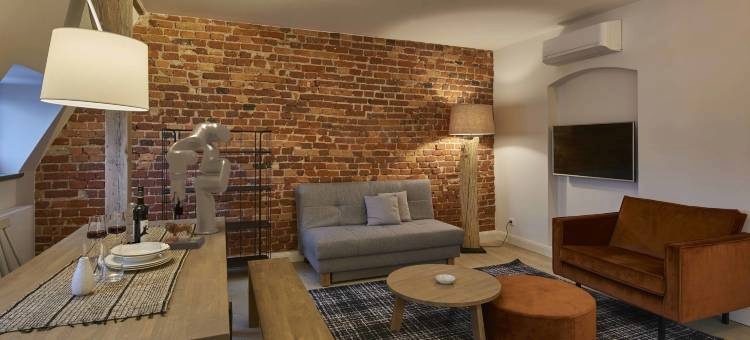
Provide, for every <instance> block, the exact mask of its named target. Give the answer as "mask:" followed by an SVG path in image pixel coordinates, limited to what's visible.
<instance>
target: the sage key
mask: <svg viewBox="0 0 750 340" xmlns="http://www.w3.org/2000/svg"><path fill="white" fill-rule="evenodd" d="M201 237H202V236H193V237H192V238H191V239H190V241H195V240H200V239H201Z"/></svg>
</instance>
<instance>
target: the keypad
mask: <svg viewBox="0 0 750 340" xmlns="http://www.w3.org/2000/svg"><path fill="white" fill-rule="evenodd" d="M200 237H201V239H200V240H195V241H190V239H191V238H192V237H190V239H189V240H188V241H179V240H177V241H167V239H166V240H165V241H163V242H162V243H165V244H168V245H169V246H170V250H169V251H176V250H178V251H179V250H199V249H200V248H201V247H203V245H204V244H205V243H206V238H205V236H200Z"/></svg>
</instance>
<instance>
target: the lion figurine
mask: <svg viewBox="0 0 750 340" xmlns="http://www.w3.org/2000/svg"><path fill="white" fill-rule="evenodd" d="M164 229H165V231H166V232H168V233H169V234H172V235H173V236H177V234H178V233H183V232H186V235H184V236H190V237H194V236H197V234H195V233H194V230H193V227H192V226H191V225H190V224H182V225H179V224H178V223H174V222H173V221H167V222H165V223H164Z"/></svg>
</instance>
